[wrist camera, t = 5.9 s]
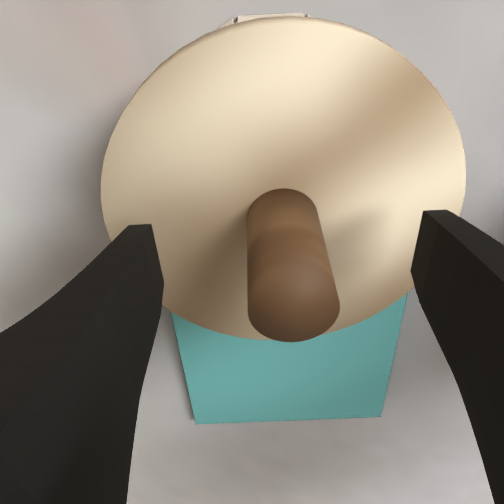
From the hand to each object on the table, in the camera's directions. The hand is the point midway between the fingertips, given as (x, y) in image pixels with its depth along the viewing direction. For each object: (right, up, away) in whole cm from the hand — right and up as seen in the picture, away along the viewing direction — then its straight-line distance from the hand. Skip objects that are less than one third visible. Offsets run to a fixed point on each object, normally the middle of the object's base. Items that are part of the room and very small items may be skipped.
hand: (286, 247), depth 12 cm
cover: (0, +2, +3) cm, 3 cm away
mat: (+1, -6, +14) cm, 15 cm away
